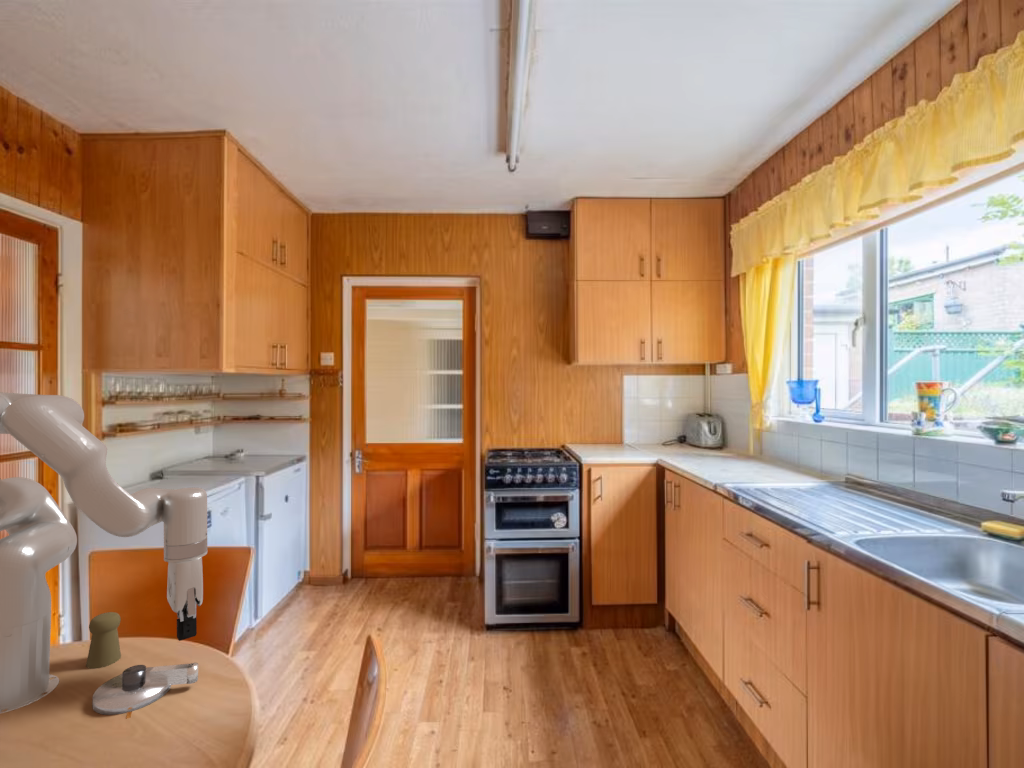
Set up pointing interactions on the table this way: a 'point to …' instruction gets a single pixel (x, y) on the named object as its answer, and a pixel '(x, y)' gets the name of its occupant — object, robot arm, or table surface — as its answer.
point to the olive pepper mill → (104, 640)
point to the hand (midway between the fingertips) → (186, 636)
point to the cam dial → (140, 687)
